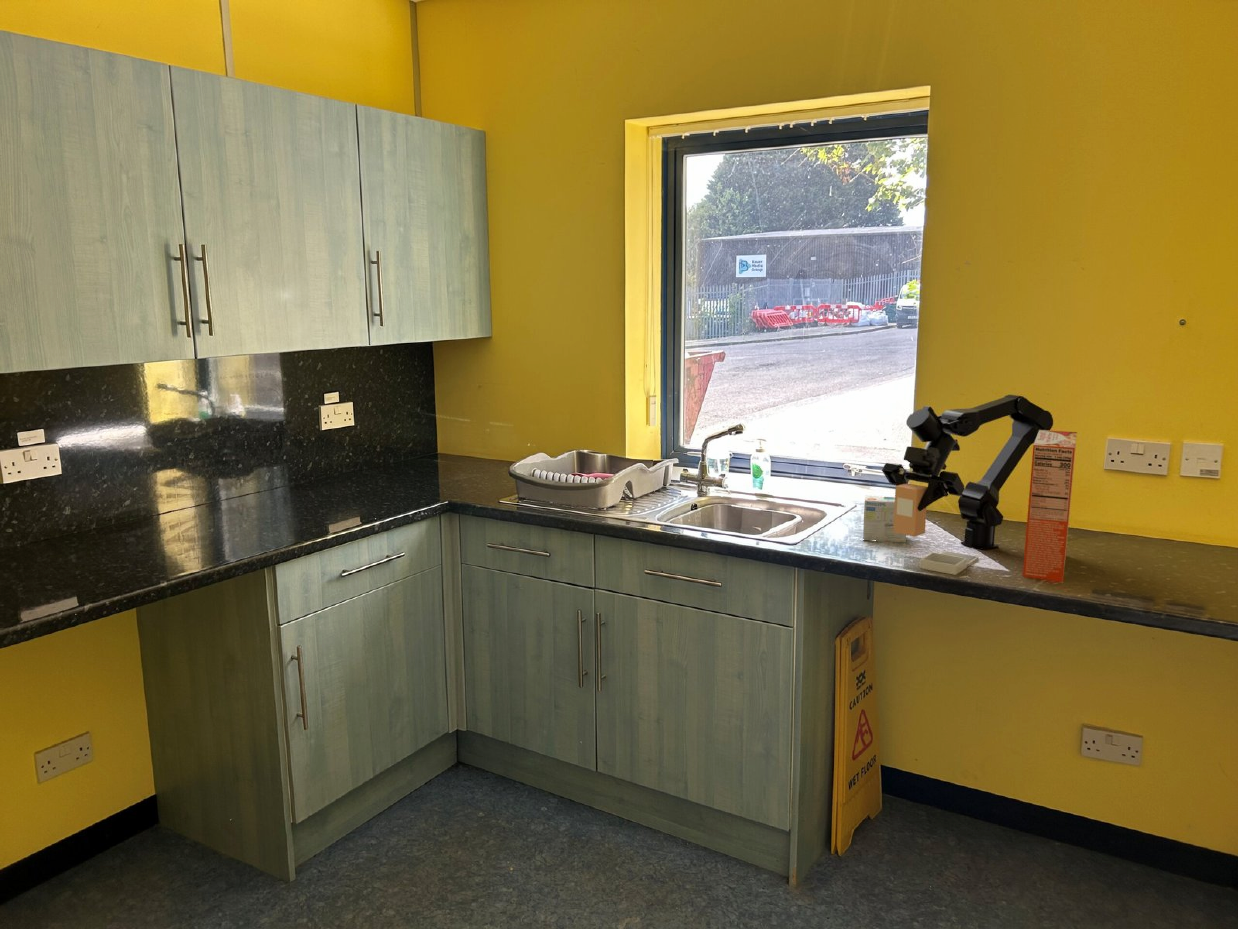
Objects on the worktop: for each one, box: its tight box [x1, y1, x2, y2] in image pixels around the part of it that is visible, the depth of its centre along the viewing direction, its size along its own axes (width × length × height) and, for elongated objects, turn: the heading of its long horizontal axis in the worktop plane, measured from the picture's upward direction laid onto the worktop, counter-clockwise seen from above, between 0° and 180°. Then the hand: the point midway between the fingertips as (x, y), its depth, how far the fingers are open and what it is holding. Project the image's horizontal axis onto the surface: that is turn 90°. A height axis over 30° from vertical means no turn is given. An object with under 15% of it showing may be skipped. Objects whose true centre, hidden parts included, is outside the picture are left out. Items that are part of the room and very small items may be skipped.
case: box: [919, 551, 968, 576], centre depth 212 cm, size 7×8×2 cm
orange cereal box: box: [1022, 430, 1078, 583], centre depth 211 cm, size 23×8×30 cm, turn 153°
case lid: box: [939, 550, 980, 567], centre depth 218 cm, size 8×8×1 cm
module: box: [893, 482, 928, 538], centre depth 215 cm, size 5×6×11 cm
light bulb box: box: [862, 495, 907, 543], centre depth 236 cm, size 11×7×11 cm, turn 74°
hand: (907, 507), depth 214 cm, fingers closed on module, 5 cm apart
